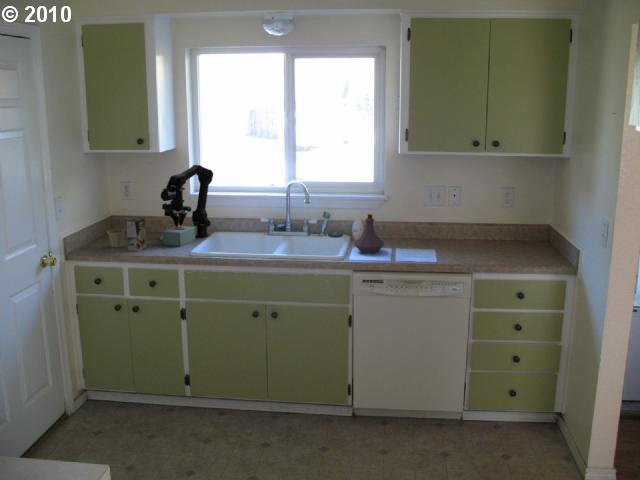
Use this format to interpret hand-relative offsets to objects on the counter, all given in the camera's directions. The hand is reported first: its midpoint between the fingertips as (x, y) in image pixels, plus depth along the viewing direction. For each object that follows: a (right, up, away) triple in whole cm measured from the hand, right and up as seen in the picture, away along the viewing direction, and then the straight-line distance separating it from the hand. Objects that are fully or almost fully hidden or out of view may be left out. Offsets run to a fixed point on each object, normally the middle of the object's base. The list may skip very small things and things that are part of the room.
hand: (178, 226), depth 363 cm
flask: (+105, -14, -16) cm, 107 cm away
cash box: (0, -9, +2) cm, 10 cm away
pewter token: (-10, -7, +12) cm, 17 cm away
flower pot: (-32, -11, -7) cm, 35 cm away
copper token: (0, -5, +1) cm, 5 cm away
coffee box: (-20, -13, -13) cm, 27 cm away
